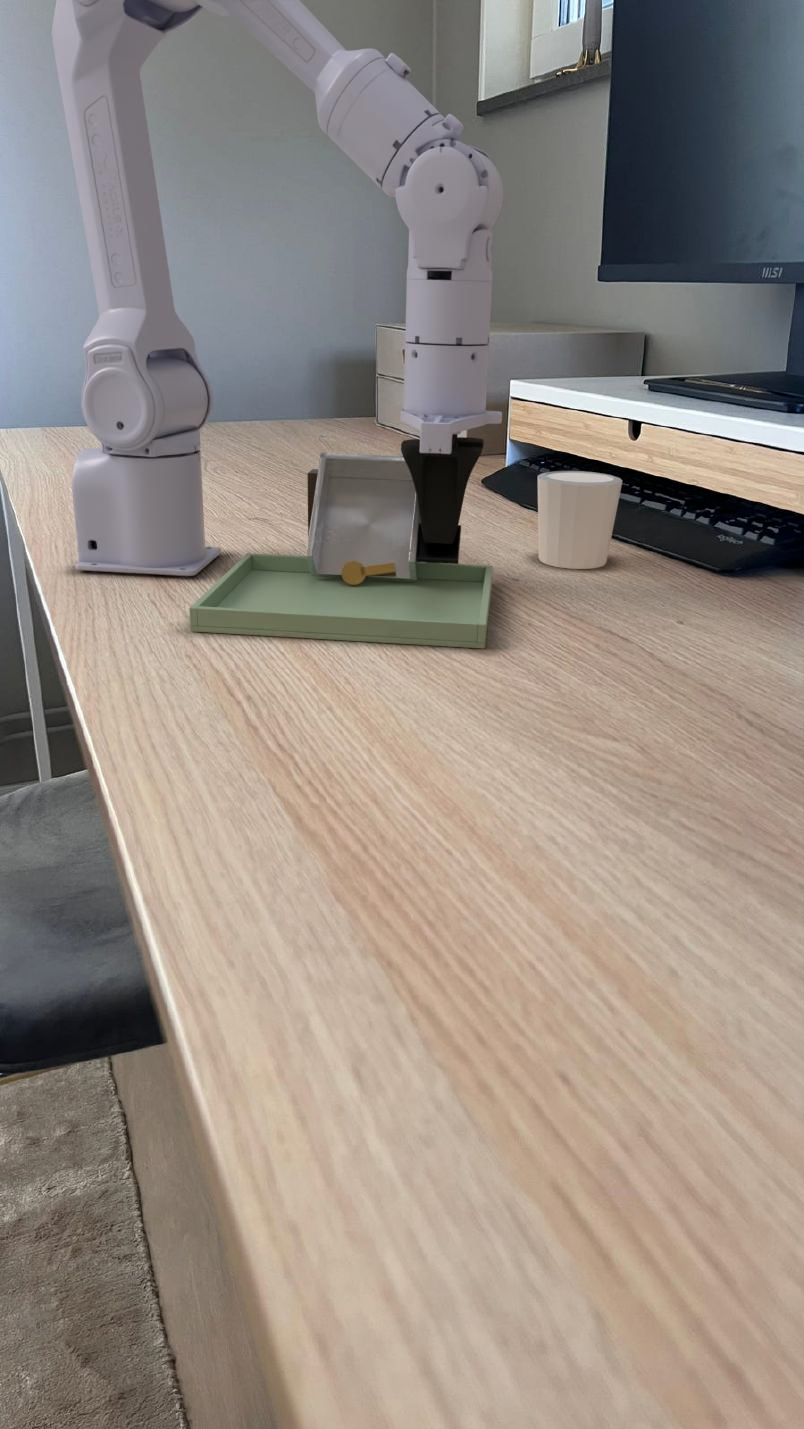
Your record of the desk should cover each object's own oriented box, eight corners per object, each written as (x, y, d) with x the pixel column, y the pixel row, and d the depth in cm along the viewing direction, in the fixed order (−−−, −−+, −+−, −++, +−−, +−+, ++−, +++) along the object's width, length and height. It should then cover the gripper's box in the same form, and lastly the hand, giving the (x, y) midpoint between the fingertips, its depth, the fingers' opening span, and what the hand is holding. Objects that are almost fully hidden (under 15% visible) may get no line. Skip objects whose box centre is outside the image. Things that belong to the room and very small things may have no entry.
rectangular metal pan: (311, 576, 78) (305, 556, 75) (326, 470, 81) (321, 447, 78) (457, 584, 77) (456, 564, 74) (466, 477, 80) (466, 453, 77)
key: (343, 587, 76) (343, 586, 76) (339, 564, 76) (339, 562, 76) (396, 579, 77) (397, 578, 76) (392, 556, 77) (393, 555, 76)
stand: (308, 568, 82) (307, 473, 79) (312, 562, 84) (312, 468, 81) (437, 575, 81) (441, 479, 79) (439, 568, 83) (443, 474, 80)
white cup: (613, 573, 83) (622, 486, 80) (527, 567, 84) (534, 480, 82) (614, 554, 89) (622, 472, 87) (534, 548, 91) (540, 467, 88)
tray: (190, 631, 67) (189, 607, 66) (247, 573, 80) (246, 553, 80) (484, 648, 65) (486, 624, 64) (491, 586, 79) (492, 565, 78)
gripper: (504, 351, 63) (491, 568, 68) (507, 340, 76) (496, 523, 82) (389, 347, 64) (385, 563, 69) (412, 337, 77) (408, 519, 82)
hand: (439, 541), depth 75 cm, fingers closed
